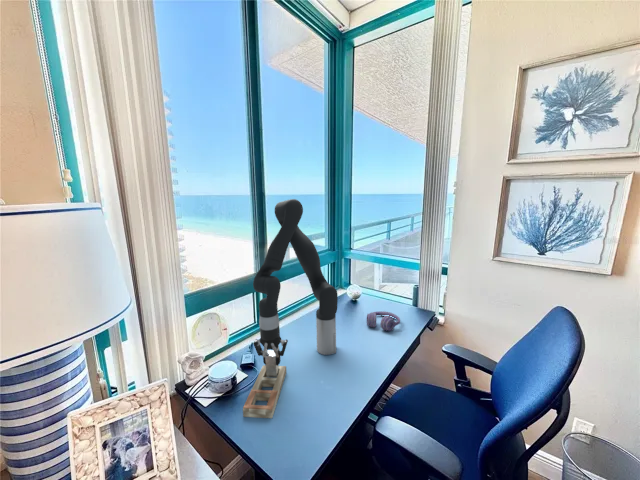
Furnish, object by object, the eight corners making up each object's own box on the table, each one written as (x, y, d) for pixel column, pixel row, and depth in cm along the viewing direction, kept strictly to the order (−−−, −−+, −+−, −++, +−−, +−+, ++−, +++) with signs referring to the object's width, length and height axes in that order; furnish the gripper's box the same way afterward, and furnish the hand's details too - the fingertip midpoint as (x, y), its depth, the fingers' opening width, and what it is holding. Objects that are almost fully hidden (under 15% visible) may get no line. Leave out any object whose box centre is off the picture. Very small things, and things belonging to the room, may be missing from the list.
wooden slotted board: (286, 372, 110) (286, 365, 109) (272, 418, 87) (271, 409, 86) (263, 371, 110) (263, 364, 110) (243, 416, 88) (242, 408, 87)
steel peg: (278, 370, 107) (277, 350, 105) (276, 377, 103) (275, 356, 101) (269, 370, 107) (267, 350, 106) (266, 376, 103) (265, 356, 102)
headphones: (393, 335, 136) (403, 325, 153) (394, 320, 136) (404, 311, 153) (361, 326, 145) (373, 318, 162) (362, 312, 145) (374, 305, 162)
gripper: (289, 320, 104) (291, 358, 107) (254, 319, 106) (257, 358, 108) (285, 329, 97) (287, 370, 100) (248, 329, 98) (251, 369, 101)
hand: (272, 363), depth 104 cm, fingers closed on steel peg, 4 cm apart
